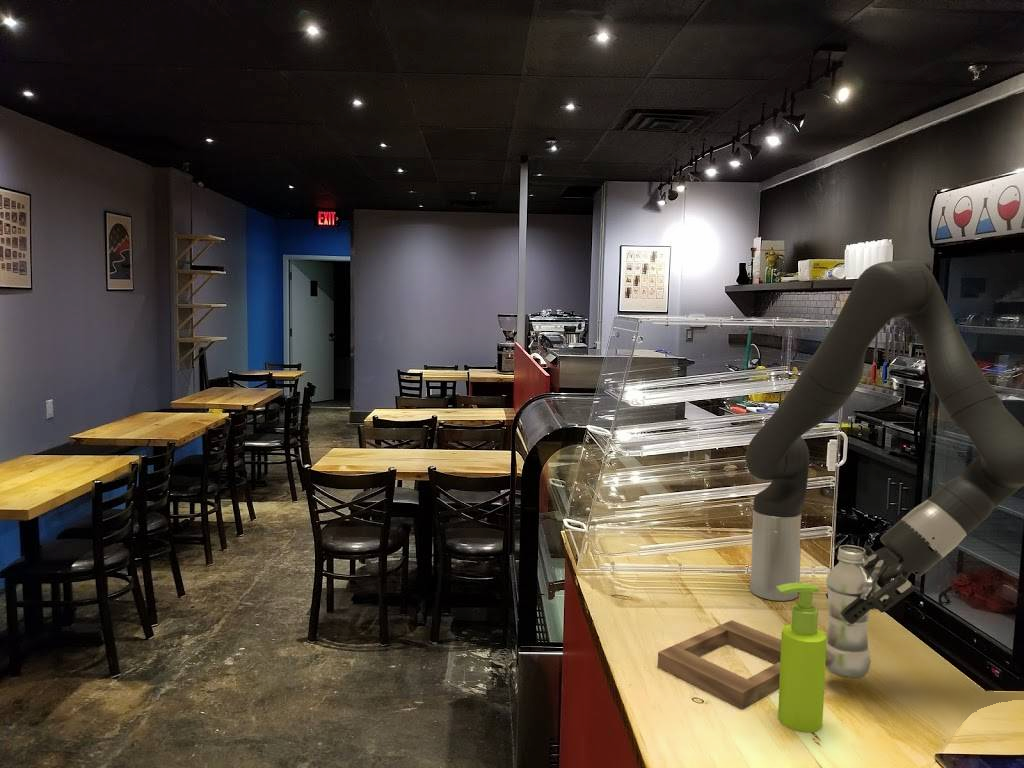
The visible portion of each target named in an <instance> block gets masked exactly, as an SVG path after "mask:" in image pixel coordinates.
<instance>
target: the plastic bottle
mask: <svg viewBox="0 0 1024 768" xmlns="http://www.w3.org/2000/svg"><path fill="white" fill-rule="evenodd" d="M837 553H838V554H837V557H836V559H837V560H838V562H837V564H836V565H835V566H834V567H832V568H831V570H830V571H829V572H828V575H827V577H826V593H827V592H828V598H827V600H828V613H829V614H828V625H827V633H826V635H827V643H826V662H825V668H827V670H828V671H829V672H830V673H831V674H833V675H835V676H838V677H840V678H844V679H849V680H850V679H851V680H856V679H857V680H859V679H861V678H862V679H863V678H865V676H866V675H867V674H868V673H869V671H870V667H871V663H872V661H871V660H872V659H871V654H870V647H869V634H868V632H869V631H868V625H869V624H868V622H869V613H870V610H869V611H868V612H867V613H866V614H865V615H863V616H862V617H861V618H860V619H859V620H857V621H856V622H855V623H854V624H850V623H848V622H847V620H846V619H845V618H844V617H843V616H842V615H841V612H842V611H843V610H844V609H845V608H846V607H847V606H848V605H850V604H851V603H852V602H853V601H854V600H856V599H857V598H858V597H859V598H860V599H861V595H862V593H863V592H864V591H865V590H866V588H867V580H868V579H869V577H870V575H869V573H868V572H867V570H866V569H865V567H864V566H863V564H865V563H866V559H865V554H866V552H865V549H863V547H861V546H856V545H853V544H852V545H851V544H850V545H849V544H844V545H840V546H838V552H837ZM873 594H874V592H873V593H872V594H871V595H873Z"/></svg>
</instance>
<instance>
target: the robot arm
mask: <svg viewBox="0 0 1024 768" xmlns="http://www.w3.org/2000/svg"><path fill="white" fill-rule="evenodd" d="M901 317H903V318H904V319H905V321H907V323H908V324H909V325H910V326H911V327H912V329H913V330H914V331H915V333H916V334H917V336H918V338H919V340H920V342H921V344H922V346H923V347H922V348H923V350H924V354H925V359H926V366H927V372H928V377H929V381H930V384H931V386H932V389H933V391H934V394H935V395H936V397H937V399H938V401H939V402H940V403H941V405H942V406H943V408H944V410H945V411H946V413H947V414H948V416H949V418H951V421H952V422H953V423H954V425H955V427H957V429H958V430H960V431H961V432H962V433H965V434H966V435H967V436H968V438H969V439H970V441H972V443H973V444H974V446H975V448H976V450H977V451H978V452H979V455H978V456H976V458H975V459H974V460H972V462H970V463H969V464H968V465H967V466H966V467H965V469H963V470H962V471H961V472H960V473H959V474H958V475H957V476H956V477H954V478H952V479H951V480H949V481H948V482H947V483H944V485H943V486H941V487H940V488H939V489H938V490H936V491H934V493H933V494H932V495H930V496H929V497H928V498H927V499H926V500H924V501H923V502H922V503H920V504H918V505H917V506H915V507H913V509H911V510H910V511H909V512H908V513H906V515H904V516H903V517H902V518H901V519H899V520H898V521H897V522H896V523H895V524H894V525H893V526H891V528H889V529H887V531H886V532H885V533H883V534H882V535H881V536H880V539H879V540H880V542H881V543H882V544H883V546H882V547H881V548H879V549H877V550H876V551H874V550H872V548H871V547H870V546H869V545H865V546H863V547H862V548H863V549H865V552H866V554H865V559H866V563H865V564H863V566H864V567H865V569H866V570H867V572H868V573H869V575H870V577H869V579H868V580H867V588H866V590H865V591H864V592H863V593H862V595H861V599H860V598H859V597H858V598H857V599H856V600H854V601H853V602H852V603H851V604H850V605H848V606H847V607H846V608H845V609H844V610H843V611H842V612H841V615H842V616H843V617H844V618H845V619H846V620H847V622H848V623H850V624H854V623H855V622H856V621H857V620H859V619H860V618H861V617H862V616H863V615H865V614H866V613H867V612H868V611H869V612H870V611H871V610H872V611H876V610H878V611H879V612H880V613H884V612H887V611H888V610H889V609H890V608H893V607H894V606H895V605H896V604H898V603H899V602H900V601H901V600H903V599H904V598H906V597H908V596H909V595H910V594H911V593H913V592H914V591H915V589H916V587H915V586H914V585H913V584H912V582H911V581H909V579H908V578H909V576H910V575H911V574H912V573H913V575H916V576H918V577H922V576H923V575H925V574H926V573H927V572H928V571H929V570H931V569H932V567H934V566H935V565H936V564H937V563H939V561H941V560H942V559H943V558H945V557H946V556H947V555H948V554H949V553H950V552H952V551H953V550H955V548H956V547H957V546H958V545H959V544H960V543H961V542H962V541H963V540H964V539H965V537H967V535H969V534H970V533H971V532H972V531H974V530H975V529H976V528H977V527H978V526H979V525H981V524H982V523H983V522H984V521H985V520H986V519H987V518H988V517H989V516H990V515H991V514H992V512H993V511H994V509H995V508H996V507H997V506H999V505H1000V504H1002V503H1003V502H1005V500H1007V499H1008V498H1009V497H1010V496H1012V495H1013V494H1015V493H1016V492H1017V491H1019V490H1020V489H1021V488H1023V487H1024V426H1023V425H1022V424H1021V423H1020V421H1018V419H1016V417H1015V416H1014V415H1013V414H1012V413H1011V412H1010V411H1008V408H1006V407H1005V405H1004V403H1003V401H1002V400H1001V399H1000V396H998V394H997V392H996V390H995V389H994V388H993V386H992V385H991V383H990V382H989V380H988V378H986V376H985V375H984V373H983V372H982V370H981V368H980V367H979V366H978V364H977V362H976V360H975V359H974V357H973V356H972V354H971V352H970V350H969V349H968V348H969V347H967V344H966V342H965V341H964V338H963V337H962V334H961V333H960V330H959V328H958V326H957V323H956V322H955V320H954V317H953V315H952V313H951V311H950V309H949V306H948V304H947V301H946V300H945V297H944V295H943V293H942V291H941V289H940V285H939V284H938V282H937V280H936V278H935V276H934V274H933V273H932V271H931V270H930V268H929V267H928V266H926V265H925V264H924V263H922V262H921V261H917V260H913V259H900V260H891V261H883V262H878V263H876V264H873V265H870V266H869V267H867V268H866V269H865V270H864V271H863V272H862V273H861V274H860V275H859V276H858V278H857V279H856V281H855V283H854V284H853V286H852V288H851V291H850V293H849V294H848V296H847V298H846V299H845V302H844V305H843V306H842V308H841V311H840V312H839V314H838V316H837V318H836V319H835V321H834V323H833V325H832V326H831V328H830V330H829V331H828V332H827V333H826V335H825V337H824V339H822V342H821V343H820V344H819V346H818V348H817V349H816V351H815V352H814V354H813V356H811V357H810V360H808V362H807V363H806V365H805V367H804V368H803V369H802V371H801V372H800V374H799V375H798V378H797V379H796V381H795V382H794V384H793V386H792V388H791V389H790V390H789V391H788V393H787V394H786V396H785V397H784V398H783V399H782V401H781V402H780V405H778V407H777V409H775V411H774V413H773V414H772V415H771V417H769V419H768V420H767V421H766V422H765V423H764V424H763V425H762V427H761V428H759V430H758V431H757V432H756V433H755V435H754V436H753V437H752V439H751V440H750V441H749V444H748V446H747V449H746V452H745V453H746V454H745V465H746V468H747V470H748V472H749V474H750V475H752V476H753V477H754V478H756V479H759V480H765V481H766V480H767V481H771V483H770V484H769V485H768V486H767V487H766V488H765V489H763V490H762V491H760V492H758V493H757V494H756V495H755V496H754V498H753V506H752V511H753V512H752V531H751V532H752V533H751V534H752V535H751V558H750V559H751V560H750V561H751V562H750V563H751V564H750V579H749V580H750V581H749V582H750V583H749V586H750V587H749V590H750V592H751V593H752V594H753V595H755V596H756V597H759V598H762V599H766V600H771V601H780V602H783V601H784V602H785V601H792V600H794V599H796V598H797V597H798V596H799V592H793V593H788V594H783V593H782V592H781V591H780V590H778V589H777V588H776V586H779V585H783V584H787V583H800V575H801V558H802V557H801V555H802V548H801V546H800V545H801V525H802V524H801V523H802V522H801V521H802V508H803V506H804V503H805V501H806V499H807V488H808V487H807V486H808V482H809V481H808V480H809V479H808V478H809V473H810V472H809V471H810V470H809V469H810V451H809V447H808V445H807V443H806V441H805V440H804V438H803V436H804V435H805V434H806V433H808V432H809V431H810V430H812V429H813V428H815V427H817V426H819V425H820V424H822V423H823V422H825V421H826V420H827V419H829V418H830V417H832V416H833V415H835V414H836V413H837V412H838V411H839V410H840V409H841V408H843V406H844V405H845V403H846V402H847V401H848V399H849V398H850V397H851V395H852V394H853V393H854V391H856V390H857V387H858V386H859V384H860V382H861V379H862V377H863V374H864V367H865V358H866V353H867V350H868V349H869V347H870V345H871V343H872V341H874V340H875V338H876V336H877V335H878V334H879V333H880V331H881V330H883V328H884V327H885V326H886V325H887V324H888V323H889V322H890V321H892V320H893V319H896V318H901ZM872 593H873V594H872ZM871 594H872V595H871ZM825 597H826V598H827V599H828V592H827V591H826V593H825ZM884 600H885V601H884Z"/></svg>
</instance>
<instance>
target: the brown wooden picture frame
mask: <svg viewBox="0 0 1024 768" xmlns="http://www.w3.org/2000/svg"><path fill="white" fill-rule="evenodd" d="M725 645H729V646H732V647H733V648H737V649H739V650H741V651H743V652H746V653H748V654H750V655H753V656H755V657H757V658H760V659H761V660H765V662H766V661H767V662H769V663H771V664H773V665H770V666H769V667H767V668H765V669H763V670H762V671H760V672H758V673H756V674H754V675H752V676H750V677H748V678H746V677H743V676H741V675H739V674H737V673H735V672H732V671H730V670H729V669H727V668H724V667H722V666H720V665H719V664H718V665H717V664H715V663H713V662H711V661H709V660H707V659H704V658H703V657H701V656H704V655H706V654H708V653H710V652H712V651H715V650H717V649H718V648H721V647H724V646H725ZM780 659H781V638H778V637H776V636H773V635H770V634H767V633H766V632H763V631H760V630H758V629H755V628H753V627H750V626H747V625H745V624H742V623H740V622H738V621H735V620H733V619H731V620H728V621H727V622H724V623H722V624H719V625H717V626H716V627H713V628H710V629H708V630H706V631H703V632H701V633H699V634H697V635H694V636H691V637H690V638H687V639H685V640H683V641H681V642H678V643H676V644H674V645H671V646H669V647H667V648H664V649H662V650H660V651H658V652H657V668H659V669H661V670H663V671H665V672H667V673H669V674H672V675H673V676H675V675H676V676H675V677H678V678H679V679H681V680H683V681H685V682H687V683H689V684H691V685H693V686H695V687H697V688H699V689H701V690H702V691H703V690H704V691H705V692H707V693H709V694H711V695H712V696H715V697H716V698H719V699H721V700H723V701H726V702H727V703H729V704H731V705H733V706H735V707H736V708H739V709H740V710H744V709H745V708H747V707H750V706H751V705H753V704H754V703H756V702H757V701H760V700H761V699H763V698H764V697H766V696H768V695H770V694H772V693H773V692H775V691H777V690H779V682H780Z"/></svg>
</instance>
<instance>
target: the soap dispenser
mask: <svg viewBox="0 0 1024 768" xmlns="http://www.w3.org/2000/svg"><path fill="white" fill-rule="evenodd" d="M776 588H777V589H778V590H780V591H781V592H782V593H783V594H788V593H793V592H798V597H799V598H798V603H796V604H793V605H792V607H791V623H789V624H788V623H787V624H786V625H784V626H782V627H781V637H780V639H781V659H780V682H779V689H778V706H777V708H778V710H777V717H778V718H777V719H778V720H779V721H780V723H781V724H783V725H784V726H786V727H787V728H789V729H791V730H794V731H797V732H801V733H814V732H818V731H820V730H821V729H822V727H823V718H824V698H825V697H824V696H825V683H826V681H825V677H826V665H825V662H826V643H827V633H826V632H825V631H823V630H822V629H820V628H818V620H819V609H818V608H817V607H815V605H813V594H814V593H819V592H820V588H819V587H818V586H816V585H815V584H814V583H809V582H799V583H787V584H783V585H779V586H776Z"/></svg>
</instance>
